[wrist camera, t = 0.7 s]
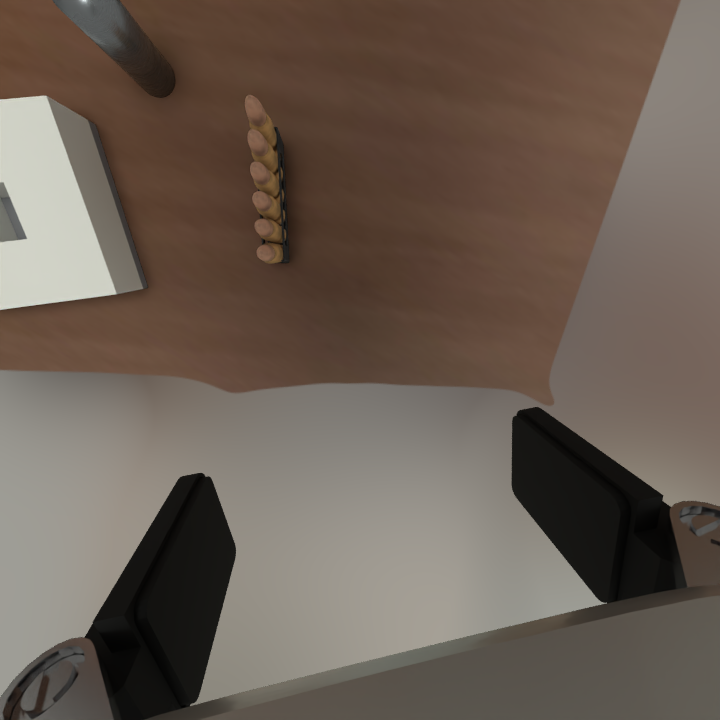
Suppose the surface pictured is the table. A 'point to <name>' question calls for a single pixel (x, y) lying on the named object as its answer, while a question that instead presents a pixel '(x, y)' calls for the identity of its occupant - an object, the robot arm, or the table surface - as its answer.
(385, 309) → the table surface
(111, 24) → the pin
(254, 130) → the ammunition clip
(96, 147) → the socket block
